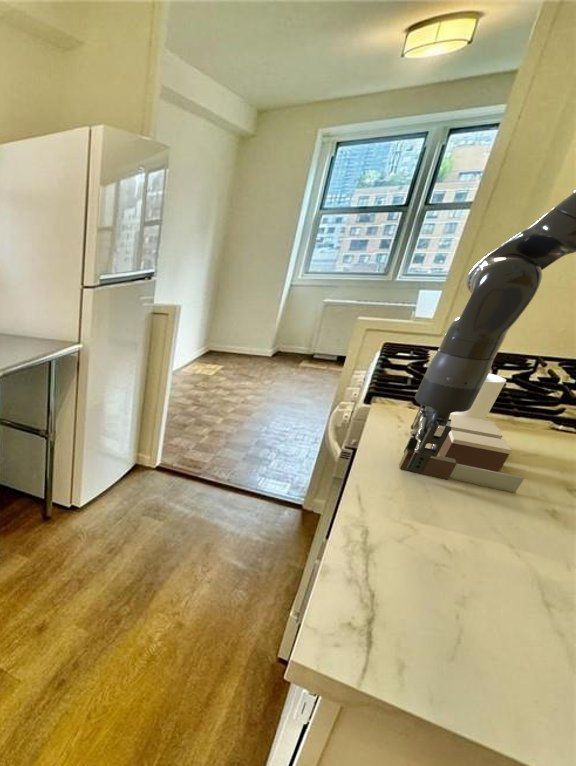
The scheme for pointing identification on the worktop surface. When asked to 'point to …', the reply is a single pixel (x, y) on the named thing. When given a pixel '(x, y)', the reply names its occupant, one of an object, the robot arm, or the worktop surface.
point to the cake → (474, 426)
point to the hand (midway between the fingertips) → (412, 462)
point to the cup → (485, 398)
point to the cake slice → (476, 450)
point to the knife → (464, 473)
